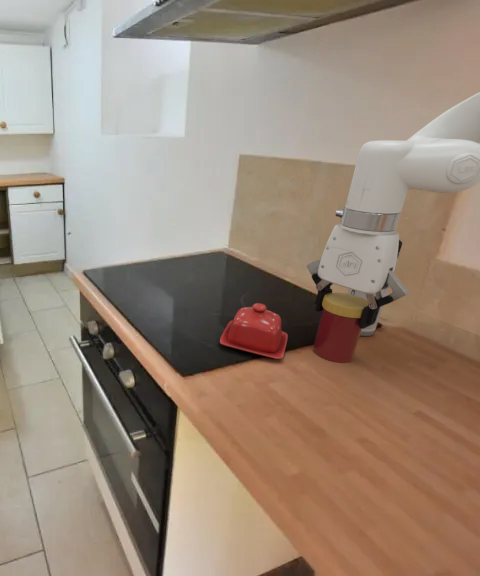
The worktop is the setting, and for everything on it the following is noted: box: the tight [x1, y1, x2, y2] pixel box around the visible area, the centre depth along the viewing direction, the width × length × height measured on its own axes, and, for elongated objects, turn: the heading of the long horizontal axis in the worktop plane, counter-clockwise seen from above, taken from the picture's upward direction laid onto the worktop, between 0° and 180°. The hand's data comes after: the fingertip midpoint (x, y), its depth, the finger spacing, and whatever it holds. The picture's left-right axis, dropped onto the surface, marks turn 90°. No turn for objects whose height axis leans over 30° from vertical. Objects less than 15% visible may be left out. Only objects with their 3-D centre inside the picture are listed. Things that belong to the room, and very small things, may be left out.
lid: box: [322, 292, 368, 318], centre depth 68 cm, size 7×7×2 cm
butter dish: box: [219, 302, 289, 360], centre depth 73 cm, size 12×12×8 cm
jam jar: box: [312, 308, 362, 364], centre depth 70 cm, size 7×7×11 cm
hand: (342, 317), depth 69 cm, fingers closed on lid, 7 cm apart
